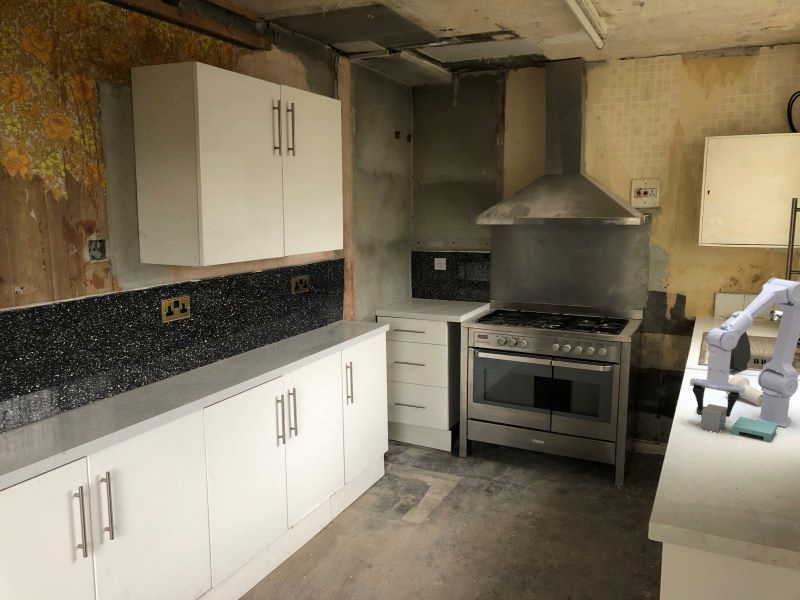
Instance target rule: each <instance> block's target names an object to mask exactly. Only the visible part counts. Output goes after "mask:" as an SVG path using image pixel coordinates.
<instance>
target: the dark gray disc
mask: <svg viewBox="0 0 800 600" xmlns="http://www.w3.org/2000/svg"><path fill="white" fill-rule="evenodd" d="M705 407H706V406H705V405H703V409H704V408H705ZM696 413H697V414H698V415H697V414H696ZM695 414H696V415H697V416H699V415H701V416H700V417H702V411H698V406H697V407H696V411H695Z"/></svg>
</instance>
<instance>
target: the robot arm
mask: <svg viewBox="0 0 800 600" xmlns="http://www.w3.org/2000/svg"><path fill="white" fill-rule="evenodd" d="M773 304H777V305H778V306H779V307H780V309H781V310H782V315H781V319H780V322H779V327H778V331H777V332H778V333H777V336H776V339H775V344H774V349H773V354H772V357H771V360H769V361H768V362H766V363H764V364H763V366H762V367H763V368H762V370H761V371H760V373H759V374H758V378H757V383H758V385H759V386H760V387H761V390H760V391H761V392H763V397H762V405H761V406H760V407H761V408H760V414H759V416H758V418H757V419H756V420H759V421H763V422H768V423H773V424H778V426H777V427H783V428H787V426H788V425H789V423H790V422H791V420H792V417H789V408H790V399H791V398H792V397H793V395H794V394H796V392H797V390H798V388H799V381H798V377H799V372H798V371H797V369H796V368H795V367H794V366H793V362H794V357H795V354H796V349H797V344H798V341H799V336H800V281H794V280H789V279H782V278H778V277H772V278H770V279H768V281H767V282H766V283H764V284H763V285H762V289H761V292H760V293H759V294H758V295H757V296H756V297H755V298H754V299H753V301H751V302H750V303H749V304H748V306H746V308H745V309H744V310H743V311H742V310H739V311H738V310H737V311H735V312H733V313H731V316H730V317H729V318H727V319H726V320H725V321H724V322H723V323H722V324H720V326H718V327H715V328H712V329H711V330H709V332H708V333H707V336H705V341H706V344H707V347H708V348H707V350H708V352H709V353H708V354H709V355H708V363H707V374H706V375H707V376H706V379H701V378H694V377H691V378H690V381H689V386H692V392H693V394H694V396H695V399H696V403H697V407H698V411H702V410H703V406H704V396H705V391H706V389H710V390H715V391H720V392H725V393H726V392H730V394H728V395H727V412H726V418H730V417H731V414H732V410H733V408H734V406H735V404H736V402H737V401H738V397H739V396H740V395H744V392H745V388H744V387H740V386H736V385H732V384H729V383H728V382H729V380H730V379H729V376H730V370H731V369H730V359H731V350H732V349H733V348H735V347H736V345H737V342H738V340H739V339H740V336H741V335H742V334H743V333H744V332H745V331H746V332H747V331H748V330H749V329H750V328H751V327H752V326H753V324H754V319H755V318H756V317H758V316H759V315H760V314H762V313H763V312H764V311H766V310H767V309H768V308H770V307H771V306H772V305H773Z"/></svg>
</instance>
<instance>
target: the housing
mask: <svg viewBox="0 0 800 600" xmlns="http://www.w3.org/2000/svg"><path fill="white" fill-rule="evenodd" d="M704 407H705V408H704V409H703V410H702V416H701V418H700V428H699V429H702V430H701V431H705V430H707V431H706V432H709V431H712V432H711V433H714V432H716V433H715V434H718V433H719V432H720V431H723V429H724V428H725V427H726V421H727V417H726V412H727V407H726V406H723V405H722V406H721V405H717V404H712V403H709V404H707V405H706V406H704ZM720 433H721V432H720ZM720 433H719V434H720Z"/></svg>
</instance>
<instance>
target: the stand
mask: <svg viewBox="0 0 800 600" xmlns="http://www.w3.org/2000/svg"><path fill="white" fill-rule="evenodd" d="M778 427H779V426H778V424H773V423H768V422H763V421H759V420H757V419H753V418H749V417H743V416H739V417H738V419H736V421H735V422H734V423H733V424H732V427H731V431H732V435H735V434H737V436H740V434H741V433H746V434H749V435H756V436H759V437H763V442H768V443H770V442H771V441H772V438H773V436H774V435H776V433H777V429H778Z"/></svg>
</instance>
